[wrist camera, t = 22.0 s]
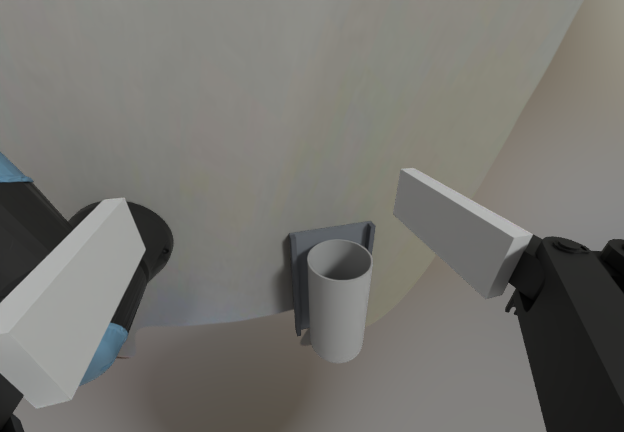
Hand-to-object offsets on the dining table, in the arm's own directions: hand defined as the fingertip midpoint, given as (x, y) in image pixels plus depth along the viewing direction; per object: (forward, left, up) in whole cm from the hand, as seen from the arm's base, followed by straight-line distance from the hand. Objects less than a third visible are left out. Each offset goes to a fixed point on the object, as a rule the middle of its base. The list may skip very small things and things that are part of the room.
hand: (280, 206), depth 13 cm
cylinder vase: (-14, -51, -25) cm, 58 cm away
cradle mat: (-7, -40, -32) cm, 51 cm away
